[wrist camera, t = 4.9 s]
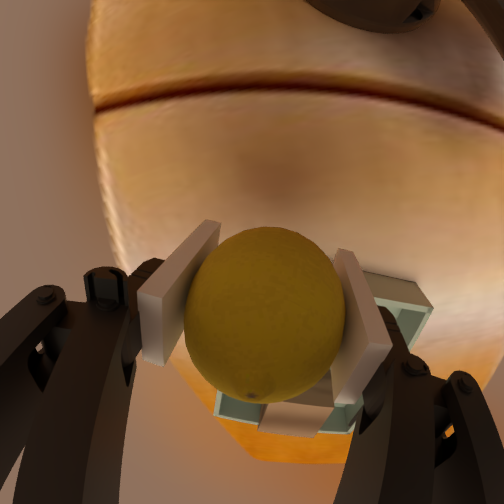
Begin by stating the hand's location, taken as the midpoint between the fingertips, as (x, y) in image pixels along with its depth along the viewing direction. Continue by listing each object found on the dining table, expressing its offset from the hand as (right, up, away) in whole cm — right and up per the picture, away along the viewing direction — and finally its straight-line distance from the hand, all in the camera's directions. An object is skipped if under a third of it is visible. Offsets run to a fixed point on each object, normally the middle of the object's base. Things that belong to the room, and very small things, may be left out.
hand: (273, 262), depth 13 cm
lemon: (0, 0, +1) cm, 1 cm away
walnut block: (+4, -16, +19) cm, 25 cm away
